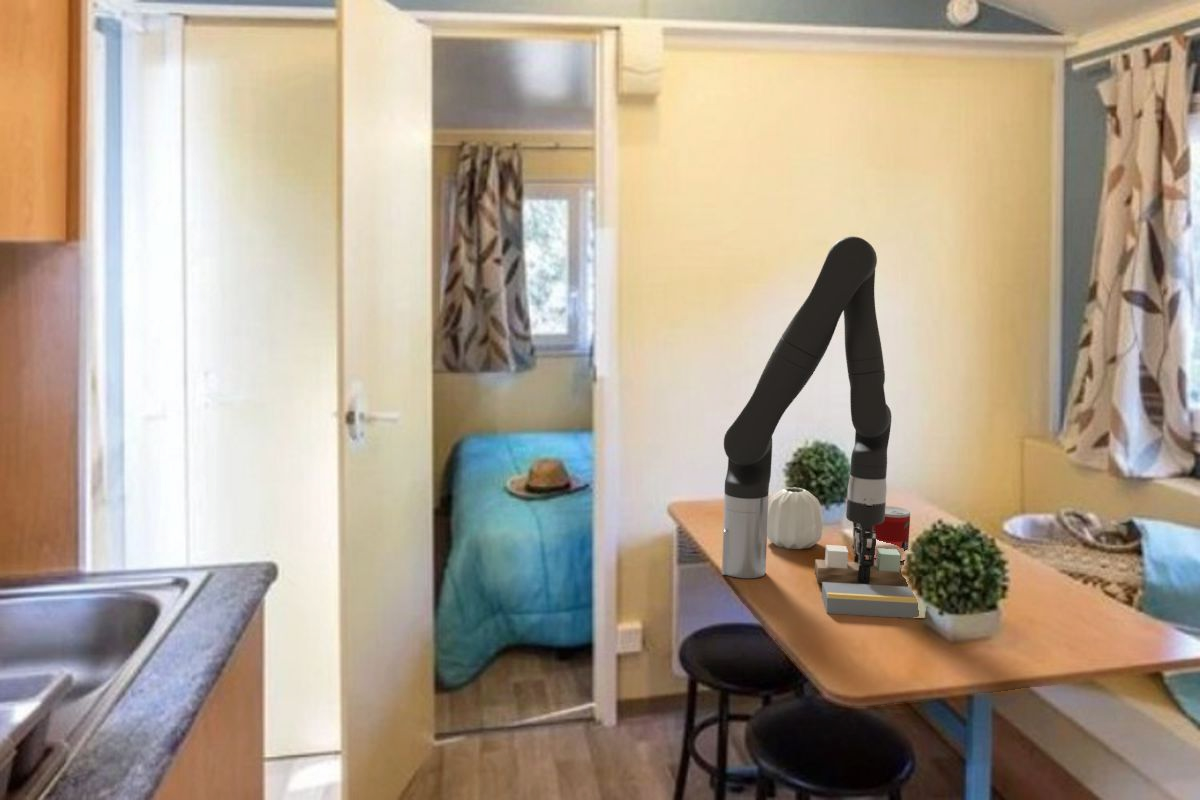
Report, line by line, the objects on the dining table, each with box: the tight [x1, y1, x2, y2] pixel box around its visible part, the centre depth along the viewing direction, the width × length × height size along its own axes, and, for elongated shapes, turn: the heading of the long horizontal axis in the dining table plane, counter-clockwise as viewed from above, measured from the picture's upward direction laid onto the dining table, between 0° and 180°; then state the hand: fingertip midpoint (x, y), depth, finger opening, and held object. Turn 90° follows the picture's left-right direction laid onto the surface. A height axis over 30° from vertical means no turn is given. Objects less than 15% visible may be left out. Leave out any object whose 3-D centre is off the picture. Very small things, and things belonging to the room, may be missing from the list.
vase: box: [767, 486, 824, 550], centre depth 211 cm, size 14×14×13 cm
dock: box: [821, 582, 919, 619], centre depth 171 cm, size 18×9×4 cm, turn 82°
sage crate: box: [875, 548, 901, 572], centre depth 182 cm, size 4×4×4 cm
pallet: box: [814, 558, 908, 587], centre depth 183 cm, size 18×6×3 cm, turn 82°
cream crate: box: [824, 544, 849, 569], centre depth 183 cm, size 4×4×4 cm
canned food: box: [873, 505, 911, 551], centre depth 202 cm, size 8×8×11 cm
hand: (861, 577), depth 183 cm, fingers closed on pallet, 5 cm apart
